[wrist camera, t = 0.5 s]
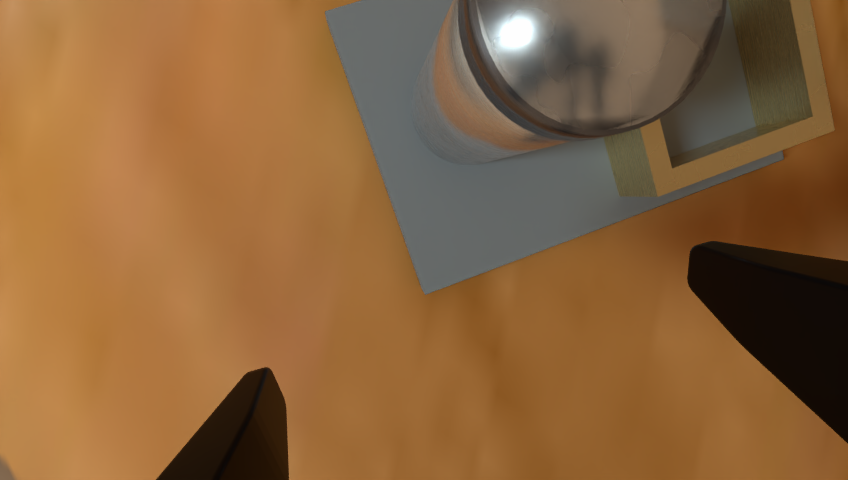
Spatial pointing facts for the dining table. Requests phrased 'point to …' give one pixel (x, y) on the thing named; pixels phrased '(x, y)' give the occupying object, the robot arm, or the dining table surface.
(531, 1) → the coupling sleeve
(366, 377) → the dining table surface
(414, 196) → the board
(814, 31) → the tan square tray
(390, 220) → the dining table surface
